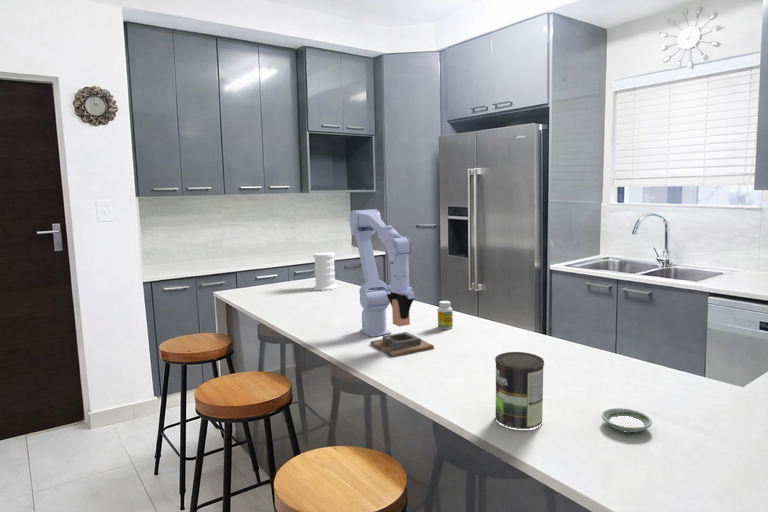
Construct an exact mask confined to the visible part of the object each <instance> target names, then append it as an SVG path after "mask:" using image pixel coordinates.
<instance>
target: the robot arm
mask: <svg viewBox="0 0 768 512" xmlns="http://www.w3.org/2000/svg"><path fill="white" fill-rule="evenodd" d="M349 214H350V215H349V220H348V222H349V227H350V232H351V235H352V236H354V237H355V240H356V243H357V248H358V249H357V250H358V254H359V259H360V263H361V268H362V273H363V279H364V283H363V284H362V285H361V286H360V288H359V290H358V292H359V304H360V305H361V308H362V311H361V328H360V329H359V331H360V332H362V333H363V334H365V335H367V336H368V337H370V338H373V337H378V336H379V337H380V336H383V335H384V336H386V335H392V331H389V330H388V329H387V309H388V308H389V307H388V306H390V305H391V307H392V299H396V300H397V302H398V304H399V308H400V316H401V319H405V318H408V314H409V315H410V309H411V306H412V304H413V302H414V300H415V299H416V297H415V296H416V295H415V293H416V292H415V291H413V287H411V286H410V277H409V276H410V274H409V272H410V271H409V270H410V267H409V265H410V263H409V262H410V261H409V255H410V254H411V253H412V249H413V248H412V247H413V246H412V241H411V239H410V238H409V236H402V235H400V233H399V232H398V231H396V229H394V227H393V226H392V225H386V224H385V222H384V221H383V220H382V219H381V218H382V217H381V212H380V211H379V210H378V209H377V208H373V209H359V210H358V209H357V210H355V209H353V210H351V212H350V213H349ZM376 233H377V237H378V239H379V240H380V241H381V243H383V245H385V247H386V252H387V255H388V261H389V262H390V284H387V283H385V282H384V281H382V280H380V276H379V273H378V268H377V264H376V260H375V254H374V249H373V245H372V240H371V239H372V238H371V236H373V235H374V234H376Z"/></svg>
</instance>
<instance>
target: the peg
mask: <svg viewBox="0 0 768 512" xmlns="http://www.w3.org/2000/svg"><path fill="white" fill-rule="evenodd" d="M391 309H392V313H391V314H392V325H394V326H397V327H404V326H409V325H411V323H410V322H411V321H410V313H409V314H408V318H405V319H401V316H400V308H399V304H398V302H397V300H396V299H392V306H391Z"/></svg>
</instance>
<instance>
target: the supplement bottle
mask: <svg viewBox="0 0 768 512" xmlns="http://www.w3.org/2000/svg"><path fill="white" fill-rule="evenodd" d="M453 318H454V317H453V308H452V306H451V301H450V300H440V301H439V307H438V308H437V327H438V329H440V330H451V329H453V328H454V325H453V324H454V323H453V321H454V319H453Z"/></svg>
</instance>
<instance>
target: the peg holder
mask: <svg viewBox="0 0 768 512" xmlns="http://www.w3.org/2000/svg"><path fill="white" fill-rule="evenodd" d="M370 345H371V346H373V347H374V348H376V349H378V350H380V352H383V353H385V354H386V355H388V356H390V357H391V358H395V357H400V356H404V355H405V356H406V355H411V354H416V353H420V352H424V351H429V350H433V349H434V347H435V346H434V345H433V344H431V343H429V342H427V341H425V340H423V339H422V338H420V337H418V336H415V335H414V334H411V333H410V332H407V331H406V332H399V333H394V334H386V335H384V336H383V335H382V339H376V340H372V341H371V340H370Z"/></svg>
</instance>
